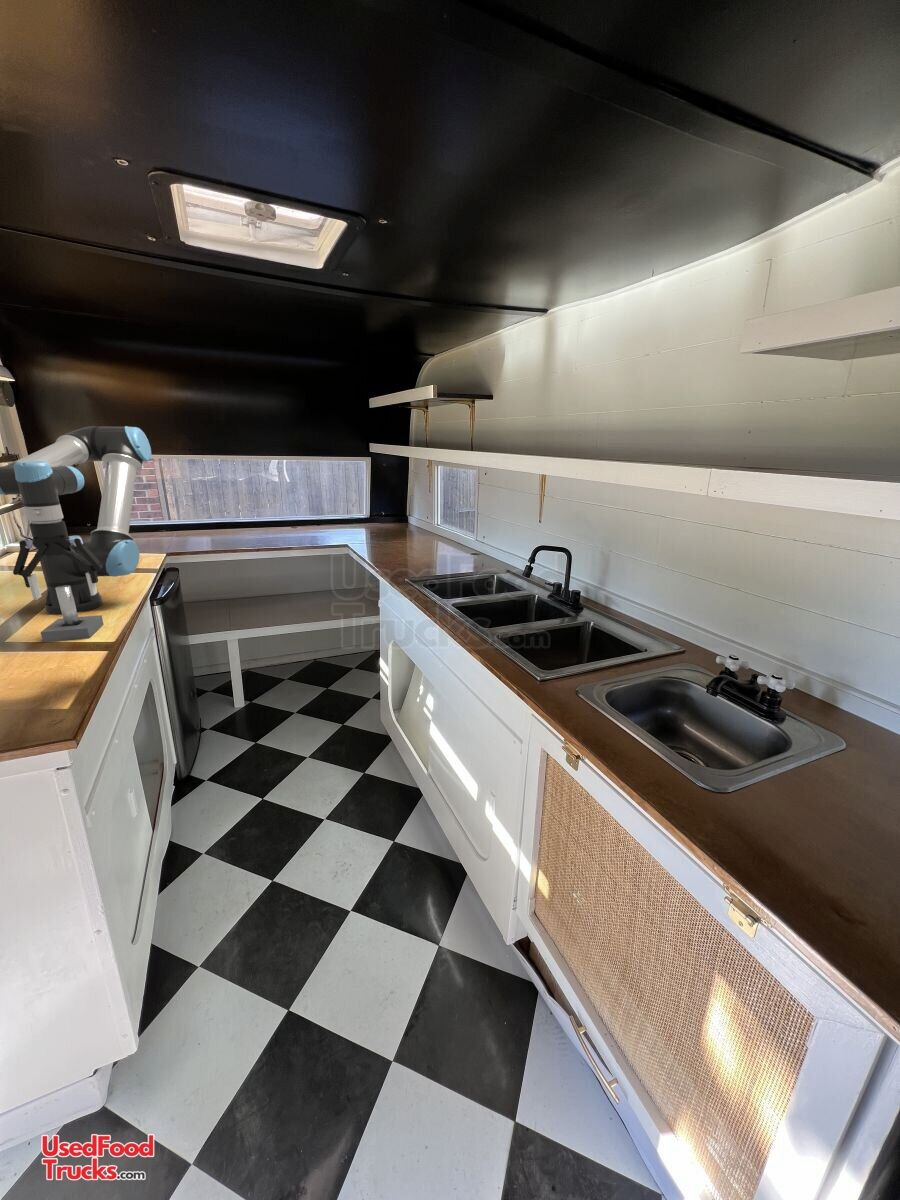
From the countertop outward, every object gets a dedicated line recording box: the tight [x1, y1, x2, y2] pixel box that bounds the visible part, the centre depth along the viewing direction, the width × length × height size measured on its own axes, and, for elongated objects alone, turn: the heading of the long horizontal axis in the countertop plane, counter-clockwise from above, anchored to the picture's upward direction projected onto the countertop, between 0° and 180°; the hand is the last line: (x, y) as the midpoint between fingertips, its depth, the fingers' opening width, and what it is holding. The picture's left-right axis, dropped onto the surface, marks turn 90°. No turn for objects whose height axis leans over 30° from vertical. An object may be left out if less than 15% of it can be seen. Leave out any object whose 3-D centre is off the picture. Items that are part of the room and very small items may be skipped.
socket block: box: [40, 614, 104, 643], centre depth 139 cm, size 11×11×3 cm
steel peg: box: [55, 585, 80, 626], centre depth 137 cm, size 3×3×14 cm
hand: (66, 596), depth 137 cm, fingers open, 13 cm apart
